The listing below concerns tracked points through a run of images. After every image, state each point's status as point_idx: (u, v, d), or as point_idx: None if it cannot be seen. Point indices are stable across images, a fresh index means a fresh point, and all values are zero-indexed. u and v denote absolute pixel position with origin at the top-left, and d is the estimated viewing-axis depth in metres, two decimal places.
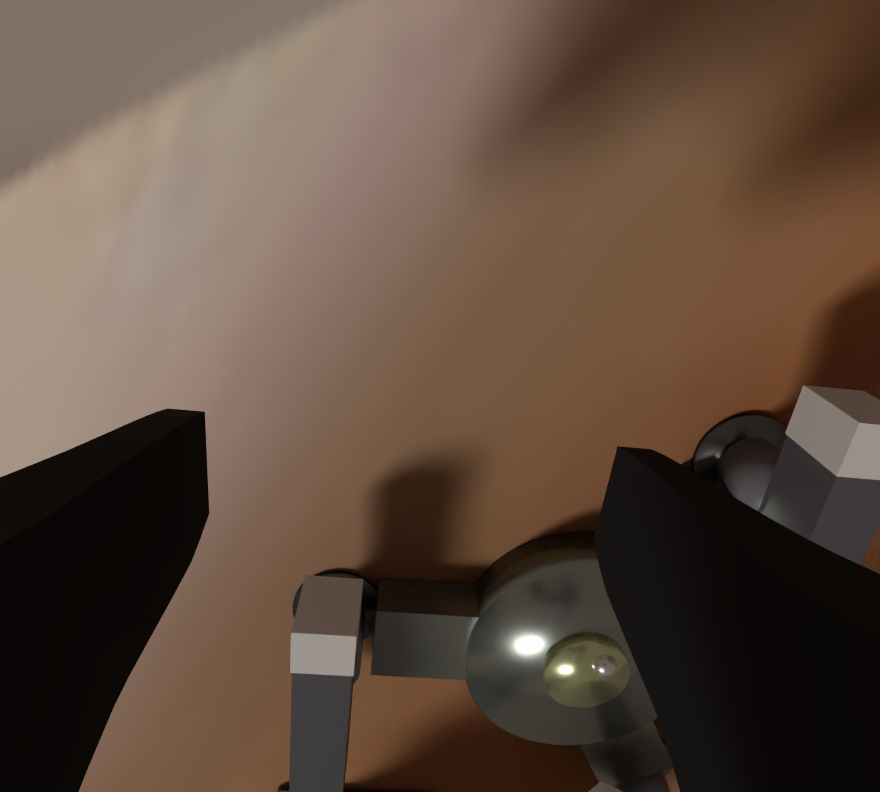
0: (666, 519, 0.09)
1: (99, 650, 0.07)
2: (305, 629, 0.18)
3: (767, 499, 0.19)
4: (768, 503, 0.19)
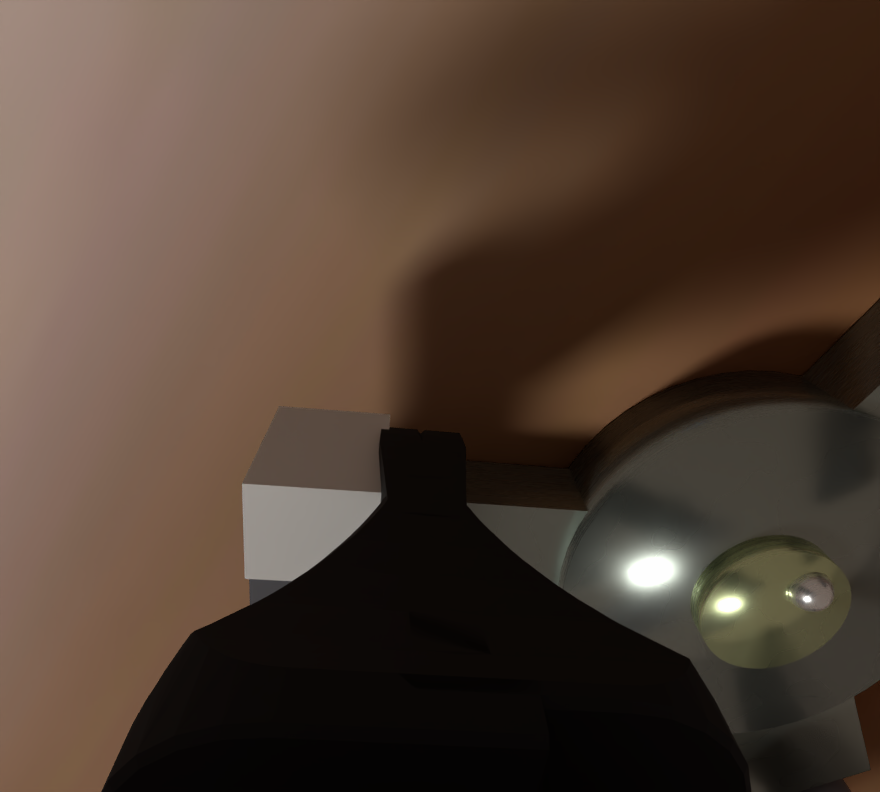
0: None
1: None
2: (273, 480, 0.08)
3: None
4: None
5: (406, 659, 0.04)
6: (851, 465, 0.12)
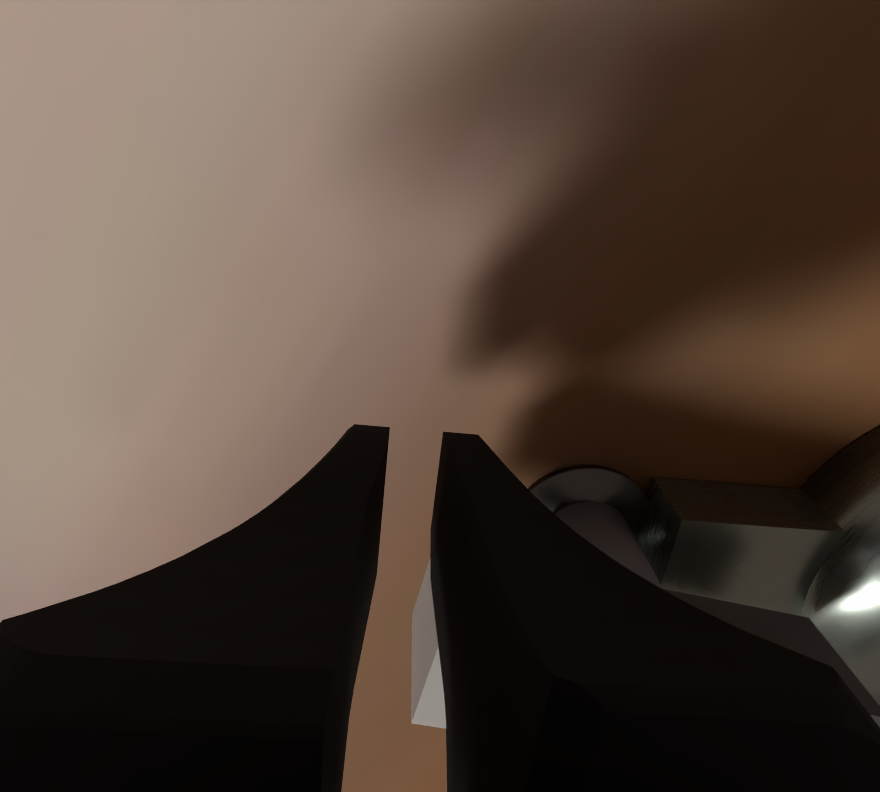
0: (455, 503, 0.09)
1: (352, 664, 0.08)
2: (417, 699, 0.10)
3: None
4: None
5: (573, 668, 0.04)
6: None
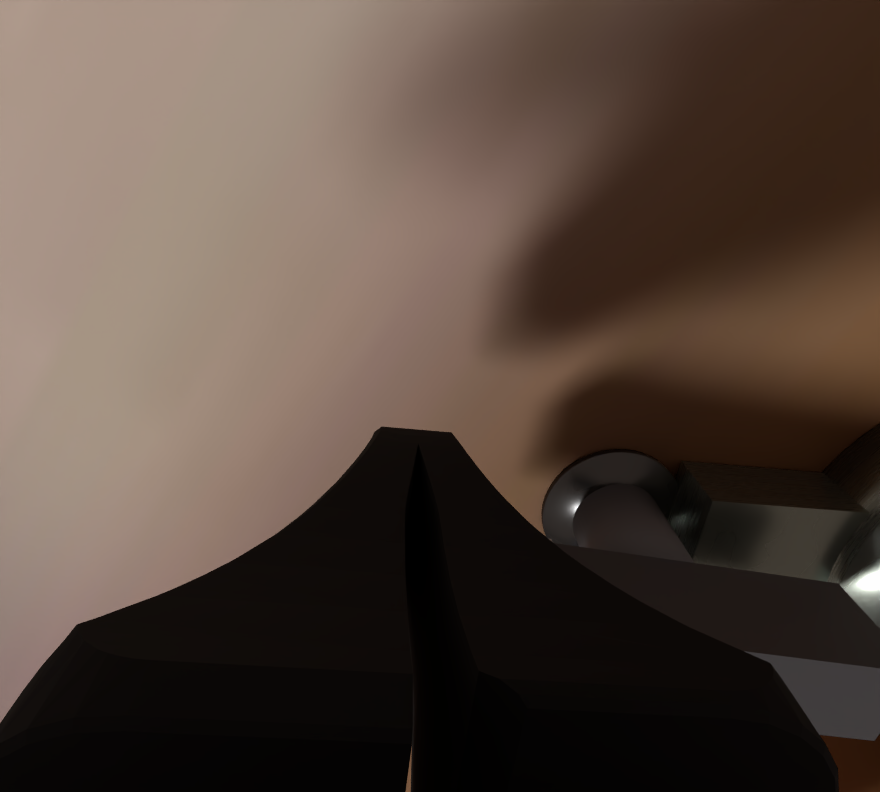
0: (422, 501, 0.09)
1: None
2: None
3: None
4: None
5: (501, 664, 0.04)
6: None
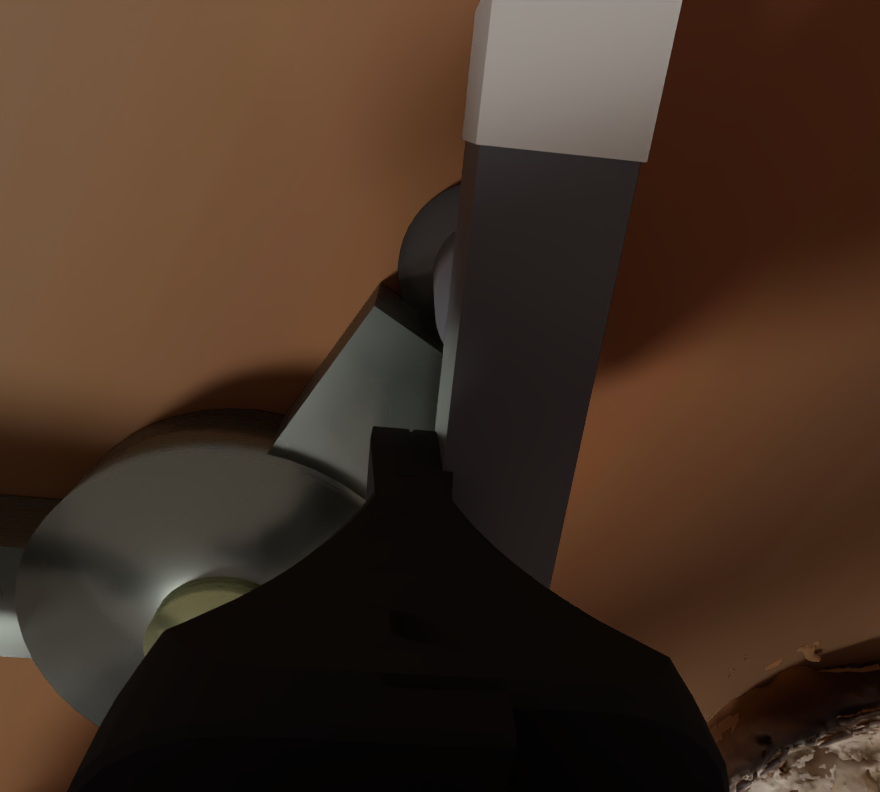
0: (369, 497, 0.08)
1: None
2: None
3: (450, 292, 0.10)
4: (450, 298, 0.10)
5: (383, 657, 0.04)
6: (265, 509, 0.12)
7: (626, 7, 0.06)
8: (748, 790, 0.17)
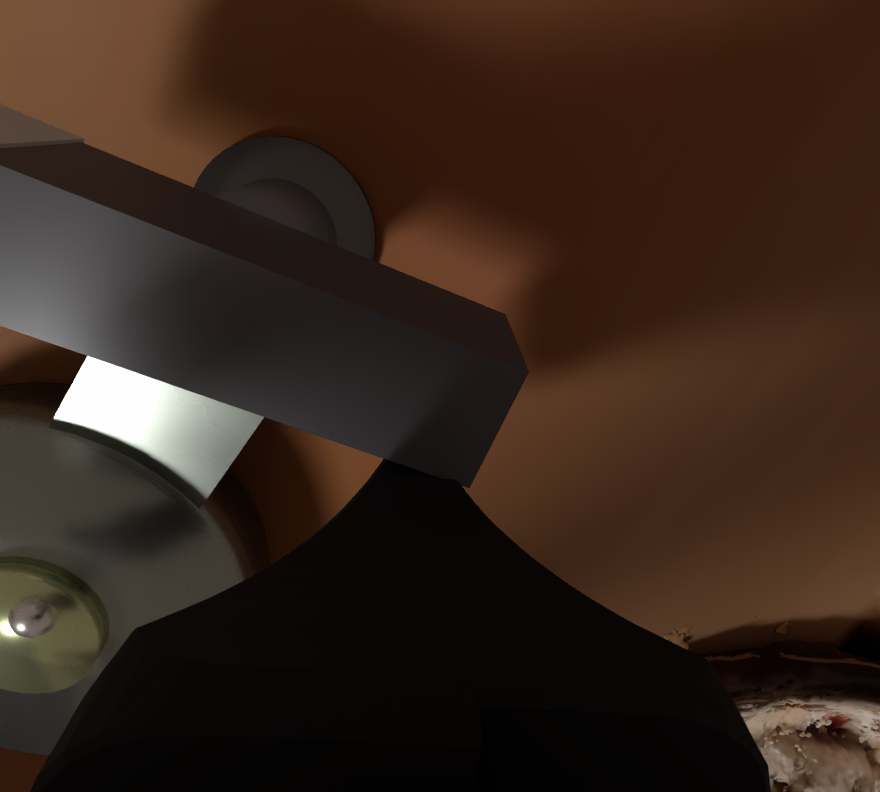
0: None
1: None
2: None
3: None
4: None
5: (427, 660, 0.04)
6: (48, 485, 0.12)
7: None
8: None
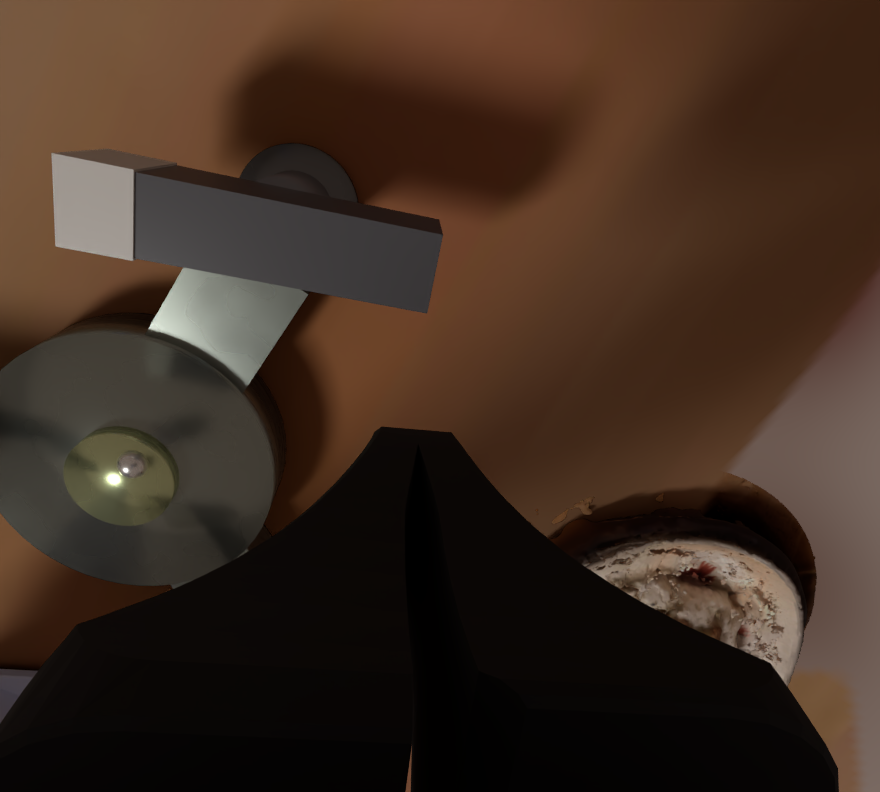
0: (422, 501, 0.09)
1: None
2: None
3: None
4: None
5: (501, 664, 0.04)
6: (145, 374, 0.18)
7: (62, 182, 0.13)
8: None
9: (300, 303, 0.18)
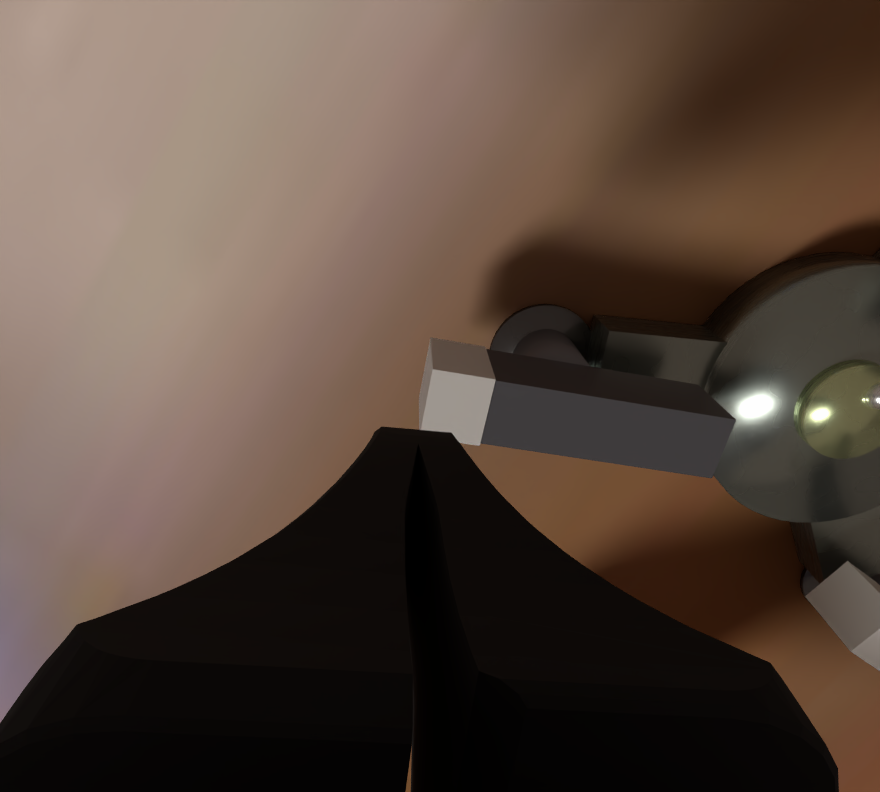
0: (422, 501, 0.09)
1: None
2: (421, 421, 0.16)
3: None
4: None
5: (501, 664, 0.04)
6: None
7: None
8: None
9: None
